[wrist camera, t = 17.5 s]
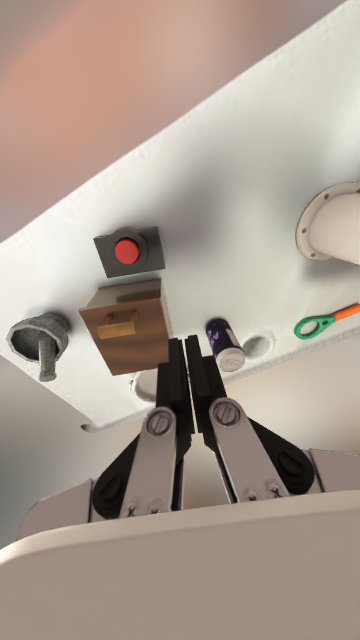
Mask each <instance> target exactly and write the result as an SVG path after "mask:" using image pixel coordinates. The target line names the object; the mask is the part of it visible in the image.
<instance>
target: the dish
mask: <svg viewBox="0 0 360 640" xmlns="http://www.w3.org/2000/svg"><path fill="white" fill-rule="evenodd" d="M157 370H158V369H152V370H146V371H140V372H137V373H136V375H135V378H134V380H131V381H130V383H129V390H133V391H134V393H135V394H136V396H137V397H138V398H140V399H141V400H143V401H147V402H149V403H156V389H157ZM188 381H189V382H190V377H189V374H188Z"/></svg>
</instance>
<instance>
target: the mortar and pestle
mask: <svg viewBox="0 0 360 640" xmlns="http://www.w3.org/2000/svg"><path fill="white" fill-rule="evenodd" d="M68 330H69V329H68V325H67V322H66V321H65V320H64V319H62V318H61V317H60V316H58V315H54V314H50V313H48V314H45V315H41V316H39V317H33V318H30V319H26V320H22V321H20V322H19V323H17V324H15V325H14V326H13V327H12V328H11V329H10V331H9V333H8V335H7V337H6V341H7V342H8V344H9V346H10V348H11V350H12V352H14V353H15V354H17V355H19V356H20V357H22V358H23V359H25V360H26V361H30V362H35V363H39V366H40V375H39V376H38V380H39V381H41V382H48V381H52V380H54V379H55V378H56V373H55V363H56V361H58V359H59V358H60V356H61V355H62V353H63V352H64V350H65V349H66V347H67V345H68V336H67V331H68Z"/></svg>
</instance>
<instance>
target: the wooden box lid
mask: <svg viewBox="0 0 360 640" xmlns="http://www.w3.org/2000/svg"><path fill="white" fill-rule="evenodd" d="M78 313H79V314H80V316H81V318H82V320H83V322H84V324H85V325H86V327H87V329H88V331H89V333H90V335H91V337H92V338H93V340H94V342H95V344H96V346H97V348H98V349H99V351H100V353H101V355H102V357H103V359H104V361H105V362H106V364H107V366H108V368H109V370H110V372H111V373H112V375H113V376H115V375H121V374H128V373H134V372H140V371H146V370H152V369H158V363H164V362H169V357H168V339H170V338H169V334H168V329H167V325H166V320H165V316H164V312H163V307H162V303H161V299H160V296H153V297H147V298H141V299H135V300H129V301H123V302H117V303H111V304H105V305H99V306H93V307H87V308H81V309H79V310H78Z"/></svg>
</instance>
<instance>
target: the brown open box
mask: <svg viewBox="0 0 360 640" xmlns="http://www.w3.org/2000/svg"><path fill="white" fill-rule="evenodd" d="M153 296H160V299H161V303H162V307H163V312H164V316H165V320H166V325H167V329H168V334H169V338H170V339H171V338H173V333H172V328H171V323H170V318H169V313H168V308H167V303H166V299H165V294H164V289H163V284H162V279H161V278H158V279H152V280H146V281H140V282H134V283H128V284H122V285H116V286H110V287H104V288H100V289H99V290H98V292H97V293H96V294H95V296H94V297H93V298H92V300H91V301H90V302H89V304H88V305H87V307H93V306H99V305H105V304H111V303H117V302H123V301H129V300H135V299H141V298H147V297H153ZM87 307H86V308H87Z"/></svg>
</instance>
